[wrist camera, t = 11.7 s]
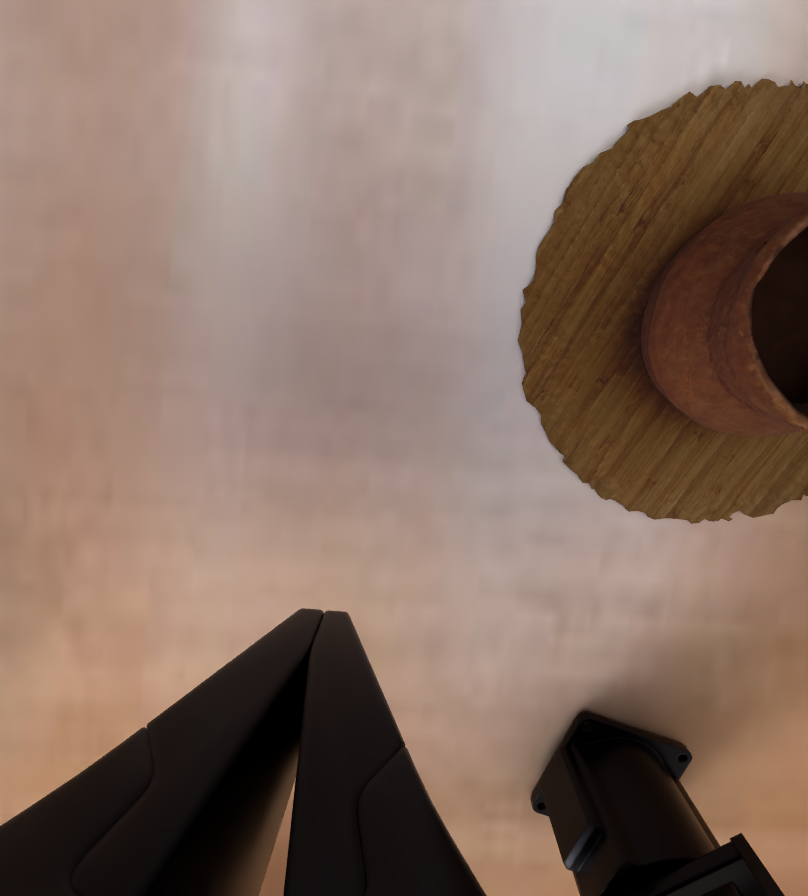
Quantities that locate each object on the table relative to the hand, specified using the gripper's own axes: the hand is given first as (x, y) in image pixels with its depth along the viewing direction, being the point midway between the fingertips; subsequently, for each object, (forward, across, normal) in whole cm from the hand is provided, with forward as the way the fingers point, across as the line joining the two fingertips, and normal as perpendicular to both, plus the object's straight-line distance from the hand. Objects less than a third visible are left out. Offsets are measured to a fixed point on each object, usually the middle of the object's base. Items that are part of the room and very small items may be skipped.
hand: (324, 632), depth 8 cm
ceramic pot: (+13, -15, -7) cm, 21 cm away
